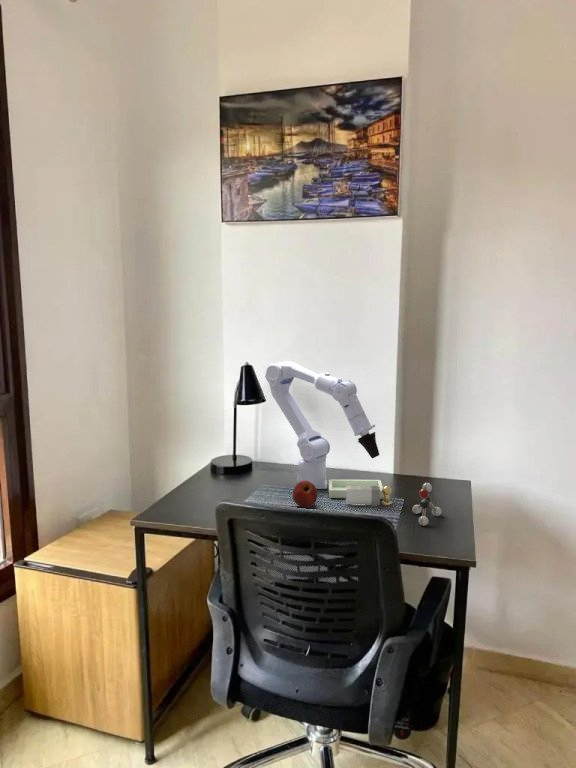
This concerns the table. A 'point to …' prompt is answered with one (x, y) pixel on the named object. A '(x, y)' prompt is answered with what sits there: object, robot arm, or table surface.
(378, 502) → the strut
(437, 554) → the table surface
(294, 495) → the apple
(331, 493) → the tray
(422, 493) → the molecular model
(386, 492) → the door knob
